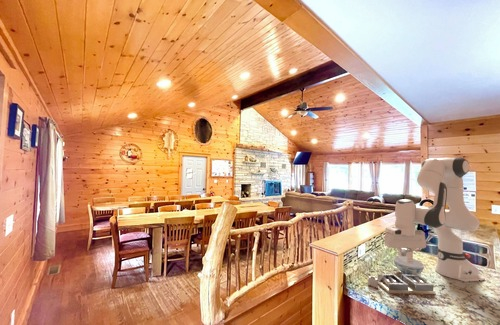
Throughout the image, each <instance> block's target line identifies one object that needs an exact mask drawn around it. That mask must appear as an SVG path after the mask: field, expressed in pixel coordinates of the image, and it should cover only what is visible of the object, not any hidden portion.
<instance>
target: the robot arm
mask: <svg viewBox="0 0 500 325" xmlns="http://www.w3.org/2000/svg"><path fill="white" fill-rule="evenodd" d="M469 170H470V162H469V161H468V160H467V158H464V157H439V158H436V157H435V158H427V159H425V160H424V161H423V162H422V163H421V168H420V170H419V172H418V174H417V177H416V182H417V184H418V185H419V186H420V187H421V188H422V189H424V190H426V191H428V192H431V193H433V194H434V197H433V204H432V206H423V205H417V204H415V202H414V201H413V200H412V199H407V198H404V199H403V198H402V199H398V200H397V201H396V203H395V207H394V209H395V210H394V215H395V216H394V217H395V222H394V224H393V225H390V226H386V227H385V231H386V232H385V234H384V240H383V242H384V245H385V246H386V247H388V248H389V249H391V248H393V249H394V248H395V249H396V250H397V253H398V252H399V255H400V256H404V253H402V251H401V250H402V248H406V249H408V250H410V251H412V252H413V253H414V251H415V249H426V248H427V240H426V234H425V232H424V231H423V230H421V229H419V230H418V229H417V230H416V224H420V225H423V226H427V227H431V228H433V229H434V231H435V233H436V236H437V237H436V238H437V244H438V245H437V246H438V247H437V250H436V252H437V259H436V260H437V261H436V265H435V268H434V271H435V272H436V273H438V274H439V275H442V276H444V277H447V278H450V279H455V280H458V281H461V282H464V283H465V282H466V283H470V282H478V281H479V280H480V281H485V277H484V276H482V275H481V274H480V273H479V270H478V267H477V266H476V265H474V264H473V263H472V262H471V261H469V260H468V259H467V258H469V259H470V257H471V254H469V253H464V249H463V248H464V245H463V244H464V242H463V240H462V238H461V237H460V236H459V235H457V234H456V233H455V232H454V231H453V230H452V229H454V230H458V231H463V232H475V231H477V230H478V229H479V227H480V225H481V224H480V220H479V218H478V217H477V216H476V215H475V214H474V213H472V212H471V211H470V210H469V209H468V208H467V205H466V204H465V200H464V199H465V198H464V179H463V176H466V175H467V174H468V173H469ZM446 206H448V209H447V208H446ZM469 281H470V282H469Z"/></svg>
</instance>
